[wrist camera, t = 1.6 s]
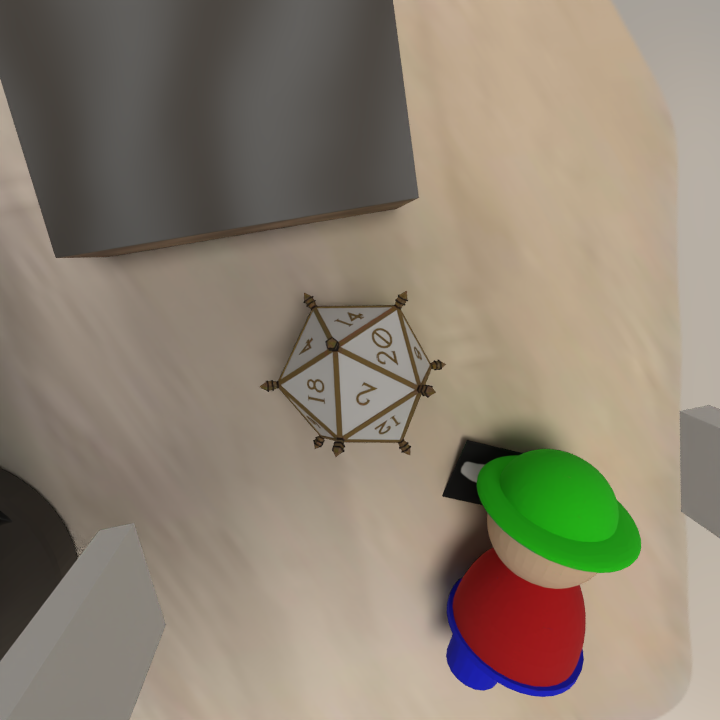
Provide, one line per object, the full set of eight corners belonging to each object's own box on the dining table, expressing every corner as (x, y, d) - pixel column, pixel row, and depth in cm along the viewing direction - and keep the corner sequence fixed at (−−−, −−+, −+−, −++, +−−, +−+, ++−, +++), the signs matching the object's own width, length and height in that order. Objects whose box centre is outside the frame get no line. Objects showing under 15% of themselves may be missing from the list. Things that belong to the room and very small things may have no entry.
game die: (320, 330, 32) (253, 250, 22) (451, 330, 29) (436, 241, 20) (302, 468, 29) (218, 441, 20) (445, 479, 27) (425, 454, 18)
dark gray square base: (106, 256, 26) (55, 257, 20) (7, -94, 22) (-87, -202, 17) (396, 208, 27) (418, 197, 22) (348, -133, 23) (360, -247, 18)
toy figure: (519, 593, 36) (592, 423, 31) (596, 729, 28) (717, 527, 22) (407, 593, 34) (464, 411, 29) (454, 741, 26) (549, 521, 20)
